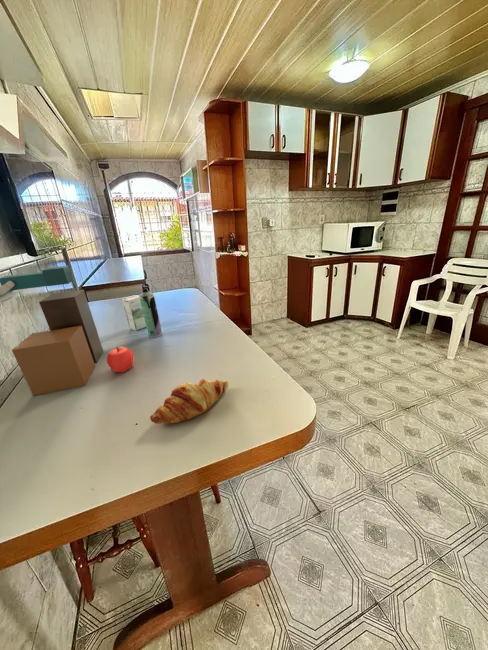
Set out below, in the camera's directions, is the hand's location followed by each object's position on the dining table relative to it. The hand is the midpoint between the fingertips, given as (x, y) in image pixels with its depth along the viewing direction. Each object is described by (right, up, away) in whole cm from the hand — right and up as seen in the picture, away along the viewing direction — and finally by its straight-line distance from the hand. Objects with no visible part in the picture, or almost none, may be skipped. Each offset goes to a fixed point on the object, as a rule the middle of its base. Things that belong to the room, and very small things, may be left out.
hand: (17, 280), depth 83 cm
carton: (+14, -31, +1) cm, 34 cm away
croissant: (+58, -35, -16) cm, 69 cm away
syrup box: (+22, -15, +39) cm, 47 cm away
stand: (+13, -26, +14) cm, 32 cm away
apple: (+31, -28, +5) cm, 42 cm away
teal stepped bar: (+5, -1, +2) cm, 6 cm away
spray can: (+33, -18, +29) cm, 48 cm away
